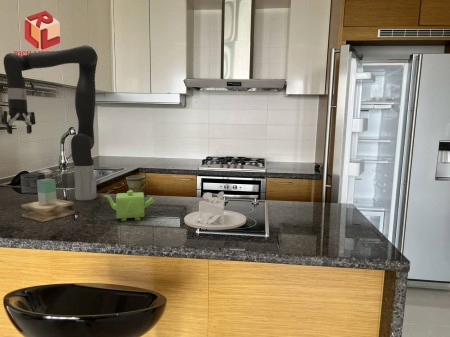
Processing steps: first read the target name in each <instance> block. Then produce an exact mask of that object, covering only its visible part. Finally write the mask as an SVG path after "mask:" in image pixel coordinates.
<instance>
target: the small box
mask: <svg viewBox="0 0 450 337" xmlns="http://www.w3.org/2000/svg"><path fill="white" fill-rule="evenodd" d="M45 175H46V174H45V173H24V174H20V175H19V177H20V189H21V190H20V192H21V194H22V195H23V194H24V195H38V187H37V180H41V179H46V176H45Z"/></svg>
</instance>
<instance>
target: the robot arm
mask: <svg viewBox="0 0 450 337" xmlns="http://www.w3.org/2000/svg"><path fill="white" fill-rule="evenodd" d="M98 60H99V59H98V54H97V51H96V49H94V48H93V47H92V46H90V45H87V44H85V45H81V46H75V47H71V48H68V49H61V50H55V51H54V50H52V51H51V50H50V51H39V52H38V51H37V52H30V53H28V54H23V55H18V54H17V53H14V52H13V53H12V52H10V53H7V54H5V55H4V57H3V67H4V73H5V76H6V81H7V82H6V84H7V103H8V104H7V105H8V106H7V107H8V111H7V110H1V111H0V112H1V116H0V117H1V124H2V125H5V126H6V132H7V133H8V135H12V134H13V123H15V122H16V121H17V122H18V121H20V122H24V124H25V125H26V134H28V135H31V134H32V131H33V130H32V126H34V125H36V123H37V122H36V115H35V112H34V111H28V98H27V90H26V81H25V78H24V76H23V72H24V71H29V70H35V69H45V68H46V69H47V68H53V67H57V66H61V65H67V64H78V69H79V70H78V72H79V73H78V80H77V84H76V87H75V88H76V89H75V95H74V96H75V97H74V108H75V113H76V117H77V122H78V126H77V127H78V128H77V134H75V135H73V136H72V138H71V141H70V152H71V160H72V162H73V174H74V175H73V177H74V192H75V194H74V195H75V200H76V201H92V200H95V199H96V198H97V180H96V178H95V165H94V164H95V163H94V159H93V157H92V149H93V147H94V146H95V131H94V122H95V112H96V111H95V110H96V72H97V71H96V70H97V64H98ZM8 116H9V118H8ZM28 117H29V118H28Z"/></svg>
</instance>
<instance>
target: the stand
mask: <svg viewBox="0 0 450 337" xmlns="http://www.w3.org/2000/svg"><path fill="white" fill-rule="evenodd" d="M56 199H57V203H55V204H50V205H41V204H39V202H38V201H33V202H29V203H24V204H21V206H20V207H21V208H23V209H27V210H32V211H30V212H28V213H27V212H26V213H22V214H21V217H22V218H26V219H30V220H33V221H38V222H42V223H43V222H47V221H51V220H55V219H58V218H63V217H66V216H71V215H74V214H75V210H69V209H65V207H68V206H72V205H75V202H74V201H71V200H70V201H69V200H66V199H65V200H63V199H59V198H56Z"/></svg>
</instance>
